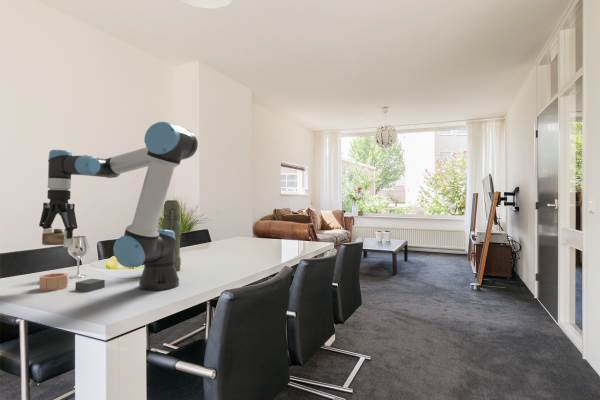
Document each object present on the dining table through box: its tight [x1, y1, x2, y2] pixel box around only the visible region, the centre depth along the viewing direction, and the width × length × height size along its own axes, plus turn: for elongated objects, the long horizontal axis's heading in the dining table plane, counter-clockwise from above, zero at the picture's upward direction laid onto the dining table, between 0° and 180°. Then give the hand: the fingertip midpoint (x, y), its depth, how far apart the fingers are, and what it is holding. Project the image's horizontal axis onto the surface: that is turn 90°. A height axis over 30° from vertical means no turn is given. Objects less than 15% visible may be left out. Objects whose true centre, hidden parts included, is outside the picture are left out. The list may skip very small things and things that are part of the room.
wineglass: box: [67, 235, 90, 279], centre depth 161 cm, size 8×8×18 cm
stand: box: [74, 278, 106, 293], centre depth 140 cm, size 7×7×3 cm
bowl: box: [39, 272, 69, 292], centre depth 140 cm, size 9×9×5 cm
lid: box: [41, 228, 74, 246], centre depth 140 cm, size 10×10×6 cm
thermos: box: [161, 199, 182, 273], centre depth 177 cm, size 9×12×35 cm
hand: (57, 245), depth 140 cm, fingers closed on lid, 10 cm apart
